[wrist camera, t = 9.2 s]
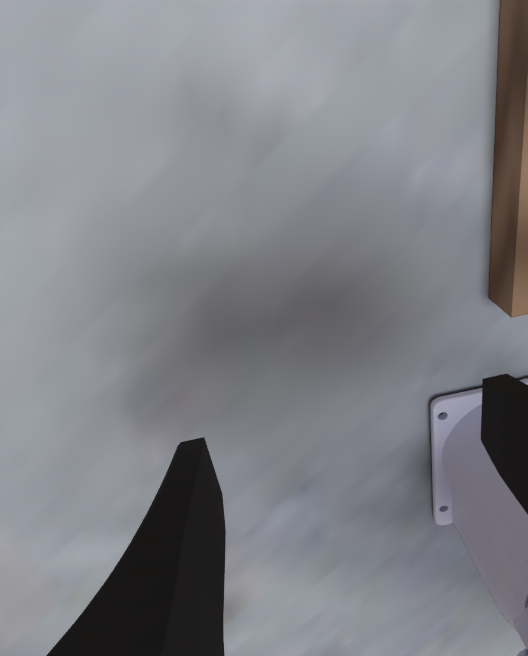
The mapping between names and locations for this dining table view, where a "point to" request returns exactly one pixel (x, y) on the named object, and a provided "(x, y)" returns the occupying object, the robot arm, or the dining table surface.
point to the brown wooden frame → (511, 165)
